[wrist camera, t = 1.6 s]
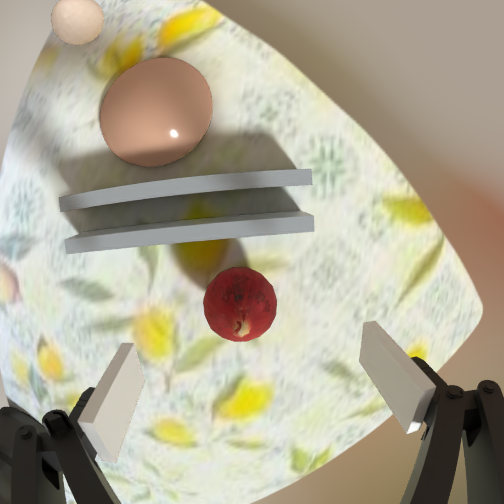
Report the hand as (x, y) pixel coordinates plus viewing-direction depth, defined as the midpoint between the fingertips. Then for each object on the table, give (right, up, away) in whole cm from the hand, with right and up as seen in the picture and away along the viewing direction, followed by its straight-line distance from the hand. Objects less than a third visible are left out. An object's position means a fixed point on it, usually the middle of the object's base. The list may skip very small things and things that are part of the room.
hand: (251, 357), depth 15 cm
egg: (-16, +28, +4) cm, 32 cm away
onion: (-1, +3, +11) cm, 12 cm away
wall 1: (-6, +8, +9) cm, 14 cm away
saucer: (-8, +18, +7) cm, 21 cm away
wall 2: (-6, +11, +9) cm, 15 cm away
